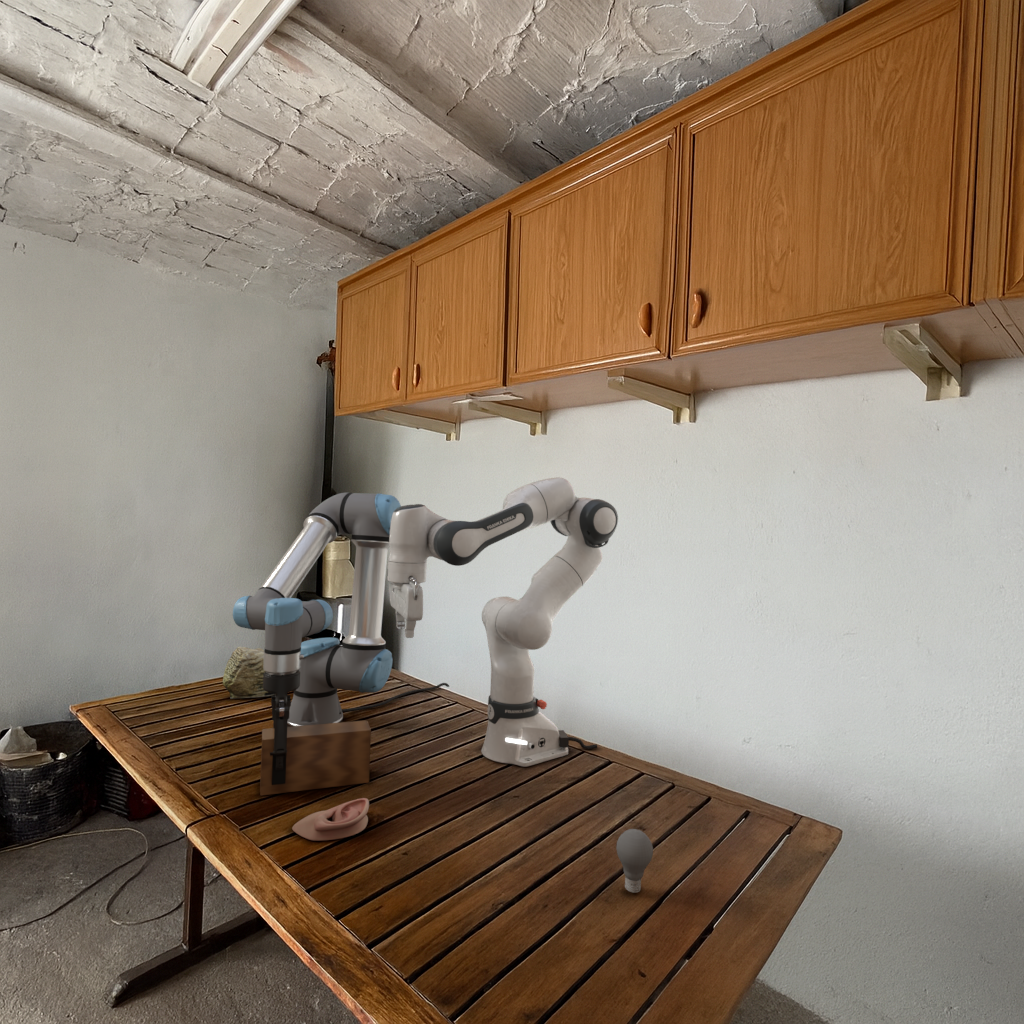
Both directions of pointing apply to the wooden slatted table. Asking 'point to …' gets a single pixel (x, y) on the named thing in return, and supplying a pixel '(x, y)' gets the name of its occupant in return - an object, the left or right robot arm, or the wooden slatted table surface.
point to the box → (319, 757)
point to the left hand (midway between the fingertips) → (278, 776)
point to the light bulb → (634, 857)
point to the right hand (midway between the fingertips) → (404, 632)
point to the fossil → (245, 673)
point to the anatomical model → (335, 821)
